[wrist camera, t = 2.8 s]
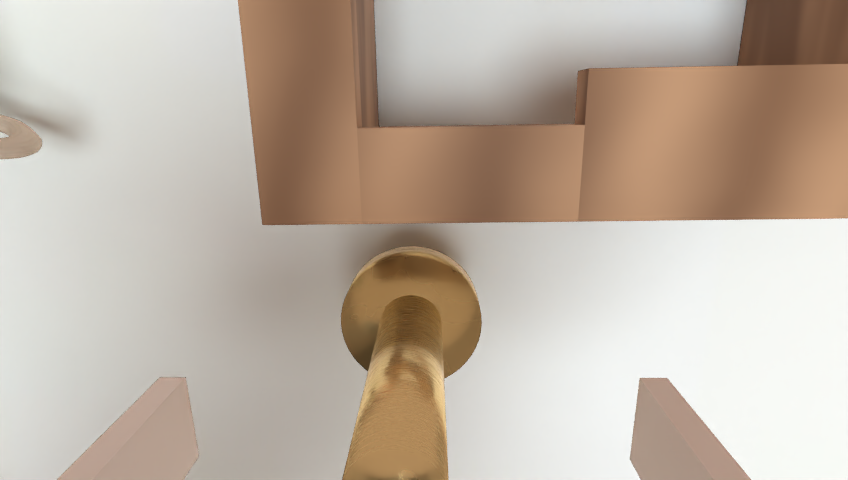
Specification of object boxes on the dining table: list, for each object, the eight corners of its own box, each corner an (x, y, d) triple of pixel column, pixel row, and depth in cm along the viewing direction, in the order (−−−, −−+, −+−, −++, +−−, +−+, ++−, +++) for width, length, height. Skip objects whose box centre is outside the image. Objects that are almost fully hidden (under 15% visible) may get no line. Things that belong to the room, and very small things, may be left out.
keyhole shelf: (319, 184, 26) (262, 225, 17) (297, -124, 22) (208, -274, 13) (778, 178, 25) (961, 217, 16) (836, -137, 21) (1112, -303, 13)
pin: (364, 322, 28) (280, 594, 12) (359, 220, 26) (254, 387, 11) (469, 321, 28) (516, 595, 12) (470, 219, 26) (526, 385, 11)
